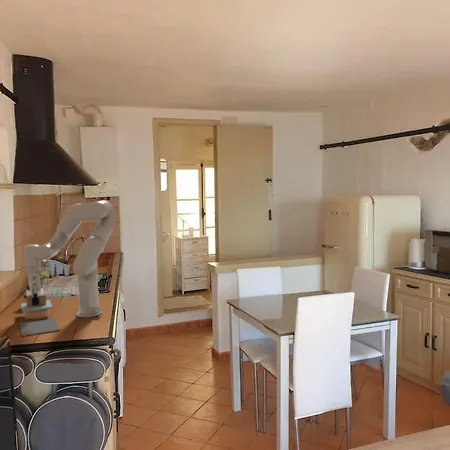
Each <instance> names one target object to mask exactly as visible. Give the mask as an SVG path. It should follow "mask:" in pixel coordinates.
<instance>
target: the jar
mask: <svg viewBox="0 0 450 450" xmlns="http://www.w3.org/2000/svg"><path fill="white" fill-rule="evenodd" d="M40 285H41V291H38V294H44V288H43V283H42V282H40ZM25 286H26V287H25V295H26V296H29V295H32V292H31V291H30V287H29V283H27V284H26V285H25ZM26 296H25V297H26Z"/></svg>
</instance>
